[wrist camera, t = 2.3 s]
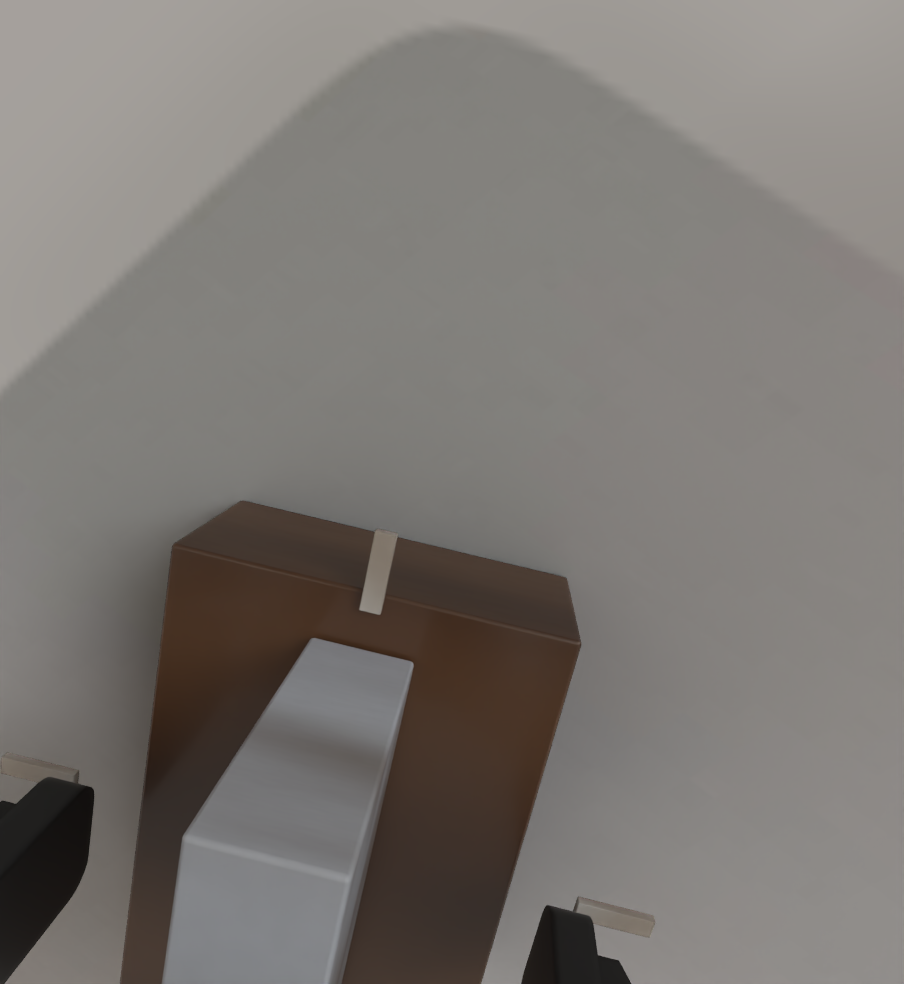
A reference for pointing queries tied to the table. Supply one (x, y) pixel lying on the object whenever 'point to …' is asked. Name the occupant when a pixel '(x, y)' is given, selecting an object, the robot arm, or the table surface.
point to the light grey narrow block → (290, 828)
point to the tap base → (422, 735)
